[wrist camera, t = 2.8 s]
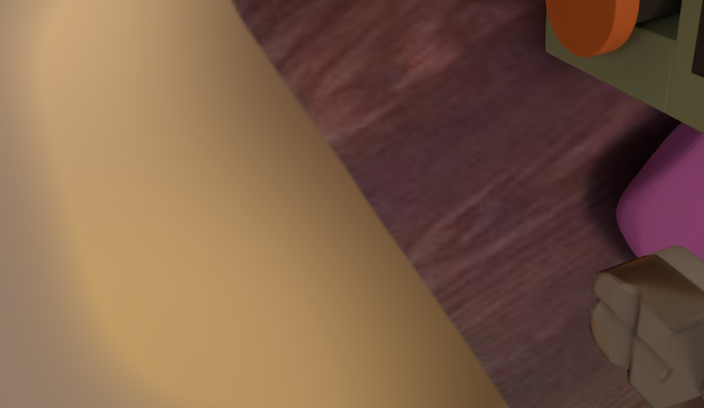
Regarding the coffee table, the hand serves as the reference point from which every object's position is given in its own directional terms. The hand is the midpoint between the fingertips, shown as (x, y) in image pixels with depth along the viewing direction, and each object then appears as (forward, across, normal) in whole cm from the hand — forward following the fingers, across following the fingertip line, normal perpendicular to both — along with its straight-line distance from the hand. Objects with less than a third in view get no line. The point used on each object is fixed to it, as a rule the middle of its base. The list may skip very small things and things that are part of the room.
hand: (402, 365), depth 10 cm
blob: (+21, -25, +17) cm, 37 cm away
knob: (+16, -15, 0) cm, 22 cm away
